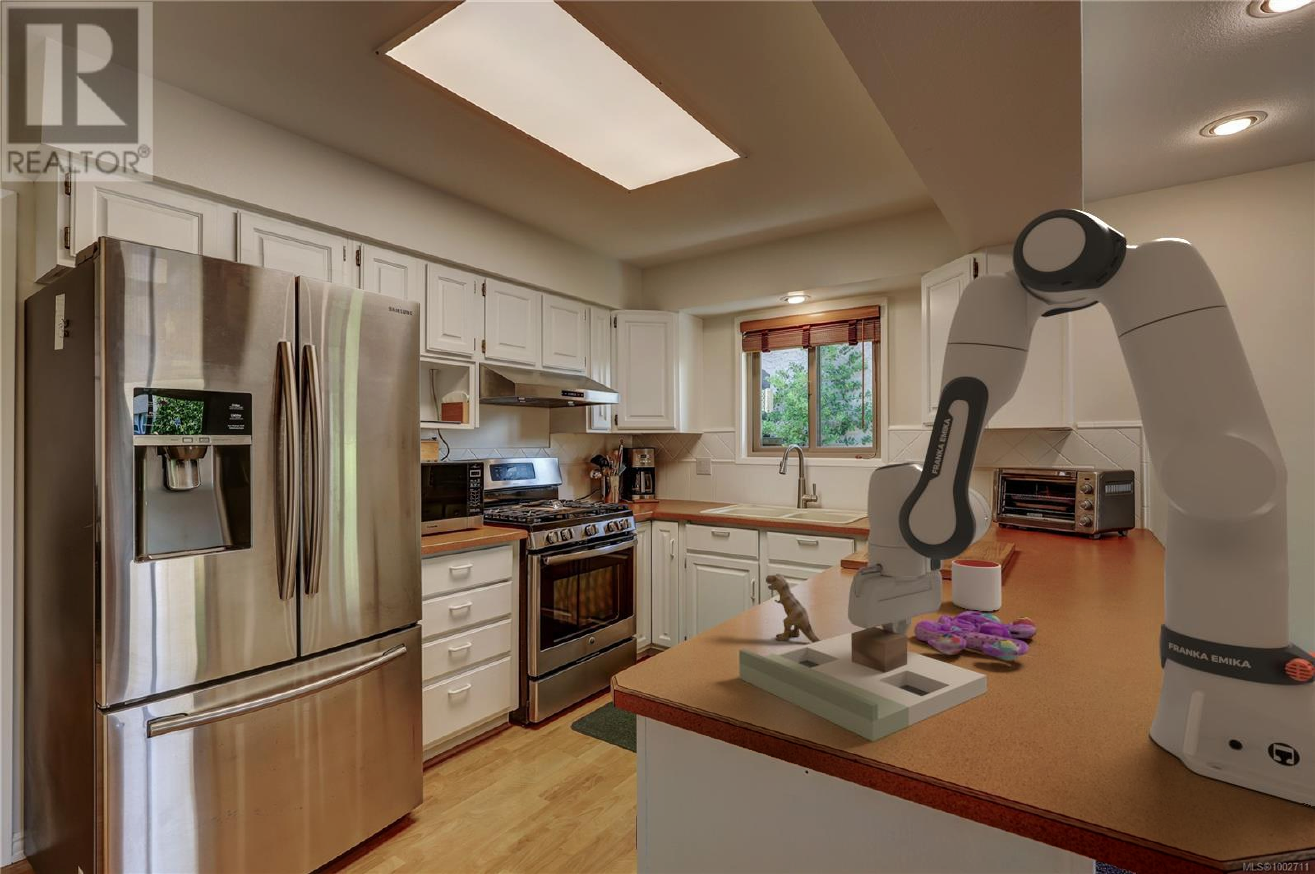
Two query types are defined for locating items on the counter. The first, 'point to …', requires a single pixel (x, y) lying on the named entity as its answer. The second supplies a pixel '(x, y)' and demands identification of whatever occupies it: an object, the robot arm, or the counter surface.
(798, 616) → the toy
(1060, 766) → the counter surface
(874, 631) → the walnut block
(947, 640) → the decorative sculpture
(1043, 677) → the counter surface
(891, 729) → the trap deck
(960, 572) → the cup
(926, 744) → the counter surface
